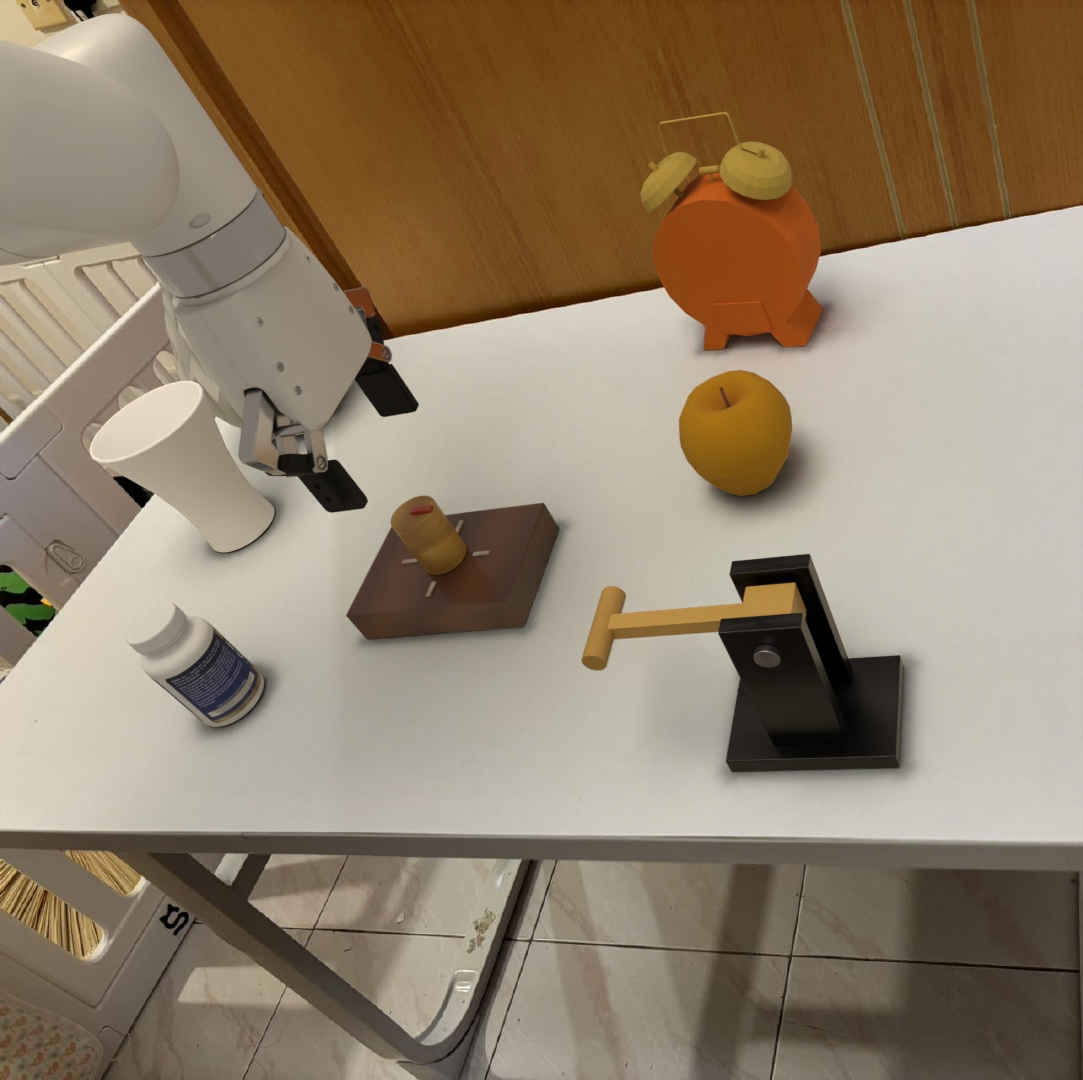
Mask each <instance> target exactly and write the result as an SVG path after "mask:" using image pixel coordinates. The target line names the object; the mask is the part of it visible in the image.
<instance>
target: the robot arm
mask: <svg viewBox="0 0 1083 1080" xmlns="http://www.w3.org/2000/svg"><path fill="white" fill-rule="evenodd" d="M125 243H130V244H131V245H132V247H133V248H134V249H135V251H136V252H137V253H138V254H139V255H140V256H141V258H142V259H143V260H144V261H145V262H146V264H147V265H148V267H150V269H151V270H152V271H153V272H154V274H155V275H156V276H157V278H159V280H161V281H162V282H163V283H164V284H165V286H166V287H167V288H168V289H169V291H170V292H171V293H172V294H173V296H174V297H175V298H176V299H177V301H178V302H179V304H178V305H177V307H176V308H175V310H174V313H175V315H176V317H177V319H178V321H179V324H180V326H181V328H182V330H183V332H184V333H185V335H186V337H187V339H188V341H189V343H190V344H191V346H192V348H193V350H194V351H195V353H196V354H197V356H198V358H199V359H200V361H201V363H202V364H203V366H204V367H205V369H206V370H207V372H208V373H209V375H210V376H211V378H212V379H213V381H214V382H215V383H216V385H217V386H218V388H219V389H220V390H221V392H222V393H223V395H224V396H225V397H226V399H227V400H228V401H229V403H230V404H231V405H232V407H233V408H234V409H235V411H236V412H237V413H238V414H239V416H240V417H241V418H242V420H243V421H242V429H241V428H240V429H241V430H240V438H239V444H238V445H239V447H238V453H237V454H238V455H237V456H238V459H239V461H240V462H241V463H242V464H244V465H245V466H248V467H250V468H253V469H256V470H258V471H260V472H264V474H265V475H267V476H269V477H286V478H294V477H297V478H298V479H299V480H300V482H301V483H302V484H303V485H304V486H305V488H306V489H307V490H308V491H309V492H310V494H311V495H312V496H313V497H314V498H315V499H316V501H317V502H318V504H320V506H321V507H322V508H323V509H324V510H325V511H326V512H328V513H331V514H333V513H339V512H350V511H355V510H356V511H357V510H363V509H365V507H366V506H367V504H368V502H369V501H368V497H367V495H366V494H365V492H364V491H363V490H362V489H361V488H360V487H359V485H358V484H357V482H356V481H355V480H354V478H353V477H352V476H351V475H350V474H349V472H348V471H347V470H346V468H345V467H344V466H343V465H342V463H341V462H340V461H339V460H338V459H328V453H327V447H326V441H325V436H324V435H325V434H324V430H323V429H324V426H325V425H327V423H328V421H329V420H330V419H331V417H332V416H333V414H334V413H335V412H336V409H337V408H338V406H339V405H340V403H341V401H342V400H343V398H344V397H345V395H346V393H347V392H348V390H349V388H350V387H351V386H352V384H353V382H354V381H355V383H356V384H357V386H358V387H359V389H360V390H361V391H362V392H363V394H364V395H365V397H366V398H367V399H368V401H369V403H370V404H371V405H372V406H373V408H374V409H375V411H376V412H377V414H378V415H379V416H380V417H382V418H386V417H387V418H388V417H393V416H394V417H395V416H401V415H405V414H411V413H416V411H417V410H418V408H419V406H420V403H419V401H418V400H417V398H416V397H415V396H414V394H413V392H412V391H411V390H410V388H409V387H408V385H407V384H406V383H405V381H404V379H403V378H402V376H401V375H400V374H399V371H397V368H395V366H394V364H393V363H390V362H392V360H393V354H392V353H393V352H392V350H391V348H390V347H389V346H388V345H386V344H385V340H384V339H385V338H384V332H383V331H384V330H383V325H382V321H381V319H380V318H379V317H377V316H376V314H377V312H376V309H375V307H374V303H373V300H372V296H371V293H370V291H369V289H368V288H367V287H365V286H360V287H356V288H351V289H345V290H342V288H341V287H340V285H339V284H338V283H337V282H336V280H335V278H333V277H332V275H331V274H330V273H329V272H328V270H327V269H326V268H325V267H324V265H323V263H321V262H320V261H319V260H318V258H317V257H316V256H315V255H314V254H313V252H312V251H311V250H310V249H309V248H308V247H307V246H306V245H305V243H304V242H302V240H301V239H300V238H299V237H298V236H297V235H296V234H295V233H294V232H293V231H292V230H291V229H290V228H289V227H288V226H285V225H284V224H283V223H282V221H281V220H280V218H279V217H278V215H277V214H276V213H275V211H274V210H273V209H272V207H271V205H270V203H269V202H268V201H267V200H266V198H265V194H264V192H263V191H262V189H261V188H259V187H258V186H257V185H256V183H255V182H254V180H253V179H252V177H251V176H250V174H249V173H248V171H247V170H246V169H245V167H244V166H243V164H242V162H241V161H240V160H239V158H238V157H237V156H236V154H235V152H234V151H233V150H232V148H231V146H230V145H229V144H228V142H227V141H226V140H225V138H224V136H223V135H222V133H221V132H220V131H219V129H218V128H217V126H216V125H215V123H214V122H213V120H212V119H211V117H210V116H209V114H208V113H207V111H206V110H205V109H204V107H203V106H202V104H201V103H200V101H199V100H198V98H197V97H196V95H195V94H194V93H193V91H192V90H191V88H190V87H189V85H188V84H187V82H186V81H185V80H184V78H183V76H182V75H181V74H180V72H179V70H177V68H176V66H175V65H174V63H173V62H172V61H171V59H170V58H169V56H168V55H167V53H166V52H165V50H164V49H163V47H162V46H161V44H160V43H159V41H158V40H157V39H156V38H155V37H154V35H153V34H152V32H151V31H150V30H149V29H148V28H147V27H146V26H145V25H144V24H143V23H141V22H140V21H139V20H137V19H136V18H134V17H132V16H130V15H129V14H124V13H119V12H118V13H106V14H101V15H98V16H97V15H96V16H94V17H91V18H89V19H86V20H83V21H81V22H78V23H75V24H73V25H71V26H69V27H66V28H65V29H63V30H61V31H59V32H56V33H55V34H52V35H51V36H49V37H48V38H46V39H44V40H43V41H41V42H39V43H38V44H36V45H35V46H33V47H29V46H25V45H23V44H19V43H16V42H12V41H10V40H9V41H8V40H6V39H2V38H0V267H4V266H11V265H17V264H22V263H27V262H28V263H29V262H33V261H38V260H44V259H49V258H53V257H57V256H61V255H65V254H72V253H76V252H80V251H87V250H91V249H96V248H103V247H109V246H115V245H121V244H125ZM290 419H291V420H293V421H294V422H297V421H299V422H300V424H294V425H291V421H290ZM300 435H303V439H304V445H305V450H306V453H299V449H298V444H297V438H296V436H300ZM273 437H275V439H274V440H275V445H276V447H275V445H274V444H273V440H272V438H273Z"/></svg>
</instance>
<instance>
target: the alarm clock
mask: <svg viewBox="0 0 1083 1080" xmlns="http://www.w3.org/2000/svg"><path fill="white" fill-rule="evenodd" d="M720 115H725V116H726V117H727V119H728V122H729V125H730V127H731V129H732V132H733V136H734V138H735V140H736V143H737V144H736V145H735V146H733V147H731V148H730V149H729V150H728V151H727V152H726V153H725V154H724V157H723V158H722V161H721V162H720V164H716V165H708V166H700V167H699V168H698V173H699V175H697V176H696V177H695V178H694V179H692V180H691V181H689V182H688V183H687V184H686V186H685V187H684V189H683V191H682V190H681V189H680V188H679V186H680V184H681V183H683V181H684V180H685V179H686V178H687V176H688V175H689V174H690V173H691V171H692V170H693V168H694V167H695V165H696V163H697V161H698V159H697V158H696V157H694V156H693V155H691V154H689V153H688V152H683V151H676V152H674V153H672V154H669V153H668V150H667V147H666V143H665V140H664V136H663V132H662V129H661V126H660V125H663V124H669V123H675V122H682V121H689V120H695V119H701V118H707V117H714V116H720ZM657 130H658V133H659V137H660V140H661V144H662V147H663V151H664V153H665V157H664V158H663V159H661V161H659V162H658V164H656V163H654V161H650V163H649V164H648V165H647V167H648V168H649V169H650V170H651V171H652V172H651V173H650V174H649V175H648V177H647V178H646V179H645V181H644V182H643V185H642V187H641V190H640V193H639V195H640V201H641V204H642V206H643V208H644V209H645V211H646V212H647V214H650V213H652V212H653V211H655V210H656V209H657V208H658V207H659V206H660V205H662V204H663V203H664V202H665V201H666V199H668V197H670V196H671V194H673V193H674V194H675V195H676V196H677V197H678V198H677V199H676V200H675V202H674V203H673V205H672V207H671V208H670V210H669V211H668V212H667V214H666V215H665V216H664V218H663V220H662V222H661V224H660V226H659V228H658V230H657V232H656V233H655V235H654V242H653V252H652V253H653V254H652V257H653V261H654V266H655V270H656V274H657V278H658V280H659V281H660V283H661V285H662V286H663V288H664V290H665V292H666V293H667V295H668V297H669V298H670V299H671V300H672V301H673V302H674V304H676V306H677V307H679V309H681V311H683V313H685V314H686V315H687V316H689V317H690V318H692V319H693V320H694V321H696V322H698V323H699V324H701V325H703V326H705V327H704V339H703V348H702V349H703V351H715V350H725V348H726V346H727V344H728V343H729V341H730V339H731V337H732V336H733V335H734V336H735V335H736V336H743V337H745V336H746V337H751V336H756V335H762V334H767V333H770V334H771V336H772V337H774V338H775V340H777V341H778V342H779V343H780V345H782V347H783V348H791V347H794V348H795V347H806V346H807V345H808V343H809V340H810V339H811V336H812V334H813V332H814V330H815V328H816V325H817V324H818V322H819V319H820V317H821V315H822V314H823V313H822V312H823V310H824V308H823V307H822V306H821V304H820V303H819V301H818V300H817V299H816V298H815V296H814V295H813V294H812V293H811V291H810V290H809V289H808V288H809V285H810V283H811V281H812V279H813V277H814V275H815V273H816V271H817V269H818V268H817V267H818V264H819V260H820V257H821V253H822V245H821V238H820V237H821V236H820V227H819V226H818V223H817V220H816V219H815V216H814V213H813V212H812V210H811V207H810V205H809V204H808V203H807V201H806V200H805V199H804V198H803V197H802V196H801V194H800V193H799V192H798V191H797V190H796V188H795V187H794V186H792V181H793V180H792V175H793V173H792V172H793V171H792V168H791V165H790V163H789V161H788V160H787V158H786V156H785V155H784V154H783V153H782V152H781V151H780V150H778V149H777V148H776V147H774V146H771V145H770V144H767V143H764V142H760V141H746V142H745V141H744V142H740V139H739V136H738V134H737V132H736V129H735V126H734V124H733V121H732V118H731V116H730V114H729V113H728V112H727V111H721V112H715V113H714V112H713V113H708V114H702V115H696V116H689V117H683V118H677V119H671V120H664V121H659V123H658V124H657ZM668 154H669V155H668Z"/></svg>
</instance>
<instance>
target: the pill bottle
mask: <svg viewBox="0 0 1083 1080" xmlns="http://www.w3.org/2000/svg"><path fill="white" fill-rule="evenodd" d="M124 640H125V642H126V644H128V645H129V646H130V647H131V648H132V649H133V650H134V651H135V652H136V653H138V654H139V655H140V666H141V669H142V671H143V672H144V673H145V674H146V675H147V676H148V677H149V678H150V679H151V680H152V681H153V682H154V683H156V684H157V685H159V686H160V687H161V688H162V689H163V690H164V691H166V692H167V693H168V694H169V695H170V696H171V697H173V698H174V699H175V700H176V701H177V702H178V703H179V704H181V705H182V706H183V707H184V708H185V709H187V711H189V712H190V714H192V715H193V716H194V717H195V718H197V719H198V720H199V721H201V722H202V723H203V724H204V725H206V726H209V727H212V728H220V727H224V726H228V725H230V724H233V723H235V722H237V721H239V720H240V719H242V718H243V717H244V716H246V715H247V714H248V713H249V712H250V711H251V710H252V709H253V708H254V707H255V705H256V704H257V703H258V702H259V699H260V698H261V696H262V695H263V691H264V687H265V679H264V676H263V674H262V673H261V671H260V670H259V669H258V668H257V667H256V666H254V665H255V664H253V663H252V662H250V660H249V659H248V658H246V656H245V655H243V654H242V653H241V651H239V650H238V649H237V647H236V646H234V645H233V644H232V643H231V642H230V641H229V640H228V639H227V638H226V637H225V636H224V635H223V634H221V633H220V632H219V631H218V630H217V628H216V627H214V626H213V625H212V623H210V622H209V621H208V620H206V619H205V618H203V617H201V616H197V615H189V616H188V615H187V614H185V612H184V610H182V609H181V608H179V607H178V606H177V605H176V603H174V602H172V601H170V600H161V601H158V602H155V603H153V604H151V605H149V606H147V607H146V608H144V609H142V611H141V612H139V613H138V614H137V615H136V616H135V617H133V619H132V620H131V621H130V622H129V624H128V626H127V627H126V630H125V632H124Z"/></svg>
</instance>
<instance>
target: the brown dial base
mask: <svg viewBox="0 0 1083 1080" xmlns="http://www.w3.org/2000/svg"><path fill="white" fill-rule="evenodd" d="M444 515H445V516H446V517H447V519H448V520H449V522H450V523H451V524H452V526H453V527H454V529H455V530H456V532H457V533H458V534H459V536H460V537H461V539H462V540H463V542H464V543H465V544H466V547H467V552H466V555H465V557H464V559H463V560H462V562H461V563H460V564H459V565H458V566H457V567H455V568H454V569H452V570H451V571H449V572H447V573H444V574H441V575H431V574H428V573H427V572H426V571H425V570H424V569H423V567H422V566H421V565H420V563H419V562H418V561H417V559H416V558H415V557H414V555H413V554H412V553H411V552H410V550H409V549H408V548H407V546H406V545H405V544H404V542H403V541H402V540H401V538H400V537H399V536H398V534H397V533H396V532H395V531H394V529H393V528H392V526H391V525H390V528H389V530H388V533H387V534H386V535H385V538H384V540H383V542H382V544H381V546H380V548H379V550H378V552H377V553H376V556H375V558H374V560H373V561H372V564H371V565H370V567H369V570H368V572H367V573H366V575H365V577H364V579H363V581H362V583H361V585H360V587H359V589H358V591H357V593H356V595H355V596H354V599H353V601H352V602H351V605H350V606H349V608H348V611H347V612H346V615H345V617H346V618H347V619H348V620H349V621H350V623H351V624H352V625H353V626H354V627H355V628H356V629H357V630H358V631H359V633H360V634H361V635H362V636H363V637H364V639H366V640H376V639H389V638H401V637H402V638H403V637H413V636H414V637H415V636H427V635H437V634H438V635H439V634H440V635H441V634H450V633H451V634H452V633H462V632H463V633H464V632H475V631H477V632H478V631H487V630H489V631H490V630H501V629H513V628H515V629H516V628H524V627H525V625H526V623H527V620H528V618H529V614H530V611H531V609H532V606H533V603H534V600H535V598H536V594H537V592H538V589H539V586H540V583H541V581H542V578H543V575H544V572H545V570H546V567H547V565H548V562H549V559H550V556H551V553H552V550H553V547H554V545H555V541H556V539H557V536H558V533H559V531H560V527H559V526H558V524H557V522H556V520H555V518H554V517H553V515H552V514H551V512H550V510H549V509H548V507H547V506H546V504H545V502H538V503H530V504H522V505H514V506H505V507H498V508H490V509H489V508H488V509H482V510H473V511H467V512H457V513H450V514H444Z"/></svg>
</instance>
